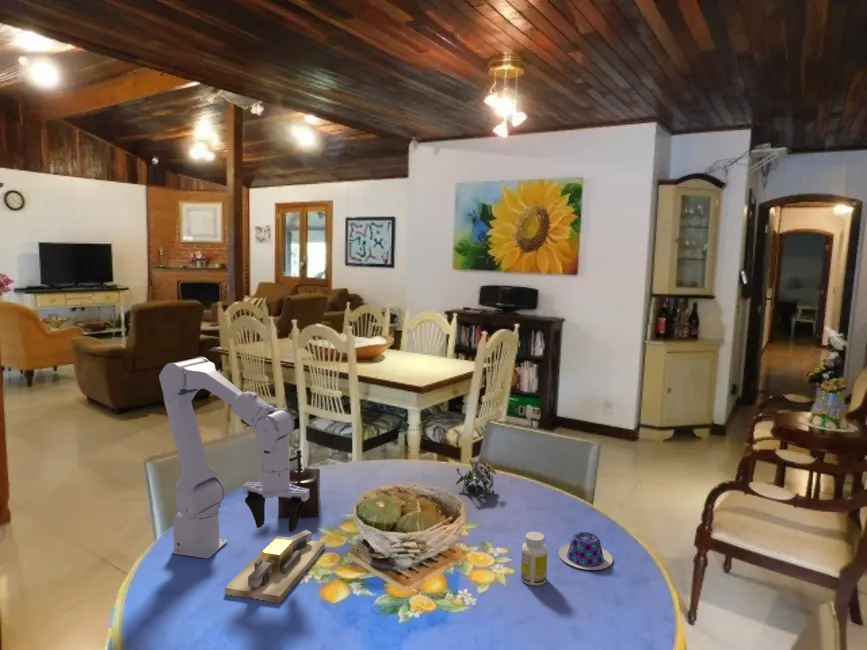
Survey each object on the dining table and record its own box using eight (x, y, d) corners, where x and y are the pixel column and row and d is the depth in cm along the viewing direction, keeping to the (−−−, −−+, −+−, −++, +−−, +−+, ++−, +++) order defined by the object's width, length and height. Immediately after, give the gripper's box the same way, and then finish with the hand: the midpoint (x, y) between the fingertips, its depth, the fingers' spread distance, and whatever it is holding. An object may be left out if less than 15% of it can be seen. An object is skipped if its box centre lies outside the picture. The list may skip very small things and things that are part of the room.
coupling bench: (224, 594, 119) (224, 574, 118) (277, 542, 140) (276, 524, 139) (279, 603, 116) (279, 582, 115) (324, 548, 137) (324, 530, 137)
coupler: (261, 571, 125) (261, 553, 124) (276, 554, 131) (276, 537, 131) (278, 573, 124) (278, 555, 123) (293, 557, 130) (293, 540, 130)
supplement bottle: (548, 575, 127) (550, 532, 126) (544, 588, 122) (546, 544, 121) (523, 570, 129) (524, 528, 128) (518, 583, 124) (519, 539, 123)
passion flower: (488, 511, 170) (499, 488, 162) (451, 504, 170) (460, 481, 162) (488, 477, 179) (499, 454, 171) (453, 471, 178) (462, 448, 170)
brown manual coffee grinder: (321, 499, 164) (320, 436, 162) (318, 517, 153) (318, 450, 151) (263, 501, 162) (262, 438, 160) (257, 520, 151) (255, 452, 149)
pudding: (549, 560, 134) (550, 538, 134) (572, 540, 144) (573, 520, 143) (599, 579, 127) (600, 556, 126) (620, 557, 136) (622, 535, 135)
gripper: (234, 470, 123) (236, 532, 125) (298, 478, 120) (299, 541, 122) (252, 459, 130) (253, 517, 132) (313, 465, 127) (313, 525, 128)
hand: (276, 528), depth 127 cm, fingers open, 7 cm apart
